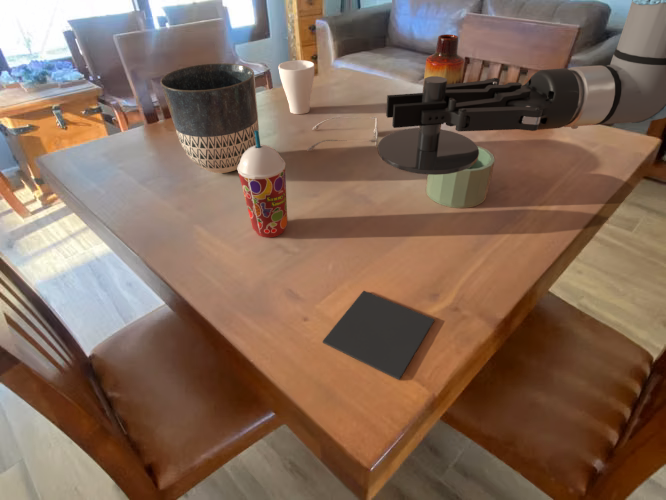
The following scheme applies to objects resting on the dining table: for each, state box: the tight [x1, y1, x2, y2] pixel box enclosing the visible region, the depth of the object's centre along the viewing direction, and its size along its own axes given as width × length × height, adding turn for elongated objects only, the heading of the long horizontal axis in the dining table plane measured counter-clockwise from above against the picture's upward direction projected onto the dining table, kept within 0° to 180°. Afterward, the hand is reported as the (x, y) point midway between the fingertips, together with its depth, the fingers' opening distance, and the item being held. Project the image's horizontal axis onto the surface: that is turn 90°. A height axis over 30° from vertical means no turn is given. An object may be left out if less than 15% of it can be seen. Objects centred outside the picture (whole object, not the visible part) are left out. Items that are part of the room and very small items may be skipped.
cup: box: [277, 59, 315, 115], centre depth 128 cm, size 10×10×14 cm
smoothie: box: [236, 130, 288, 238], centre depth 77 cm, size 8×8×20 cm
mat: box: [322, 290, 435, 381], centre depth 62 cm, size 12×12×1 cm
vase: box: [422, 33, 466, 87], centre depth 123 cm, size 11×11×20 cm
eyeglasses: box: [306, 116, 379, 152], centre depth 113 cm, size 15×18×4 cm
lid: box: [377, 76, 479, 175], centre depth 56 cm, size 14×14×10 cm
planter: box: [159, 62, 260, 174], centre depth 97 cm, size 20×20×21 cm
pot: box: [425, 145, 496, 209], centre depth 89 cm, size 13×13×8 cm
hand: (390, 111), depth 55 cm, fingers closed on lid, 3 cm apart
